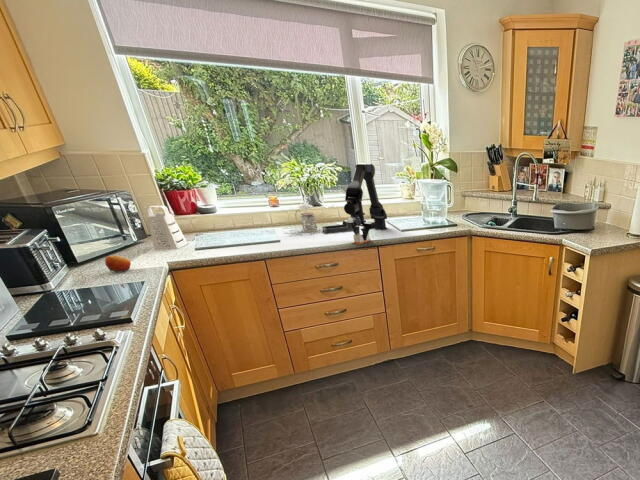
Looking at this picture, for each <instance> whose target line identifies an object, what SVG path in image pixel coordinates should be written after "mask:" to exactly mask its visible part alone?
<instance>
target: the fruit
mask: <svg viewBox="0 0 640 480" xmlns="http://www.w3.org/2000/svg"><path fill="white" fill-rule="evenodd" d="M104 264H105V267H107V269H108V270H109V271H110V272H114V275H116V274H117V273H118V272H128V271H129V270H130V269H131V264H132V263H131V260H130V259H128V258H127V257H125V256H121V255H116V254H113V255H107V256H106V257H105V259H104Z"/></svg>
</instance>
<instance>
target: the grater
mask: <svg viewBox="0 0 640 480" xmlns="http://www.w3.org/2000/svg"><path fill="white" fill-rule="evenodd" d="M152 208H161V209H162V210H163V212H164V213H154V211H153V209H152ZM146 211H147V214H148V215H147V216H146V217H147V221H148V227H149V232H150V235H151V239H152V244H153V249H154V250H177V249H180V248H182V247H183V246H185V245H187V244H188V240H187V239H186V237H185V235H184V233H183V231H182V230H181V228H180V225H179V224H178V222H177V221H176V219H175V217H174V215H173V213H170V211H169V208H168V207H167V206H166V205H149V206H147V208H146Z"/></svg>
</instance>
